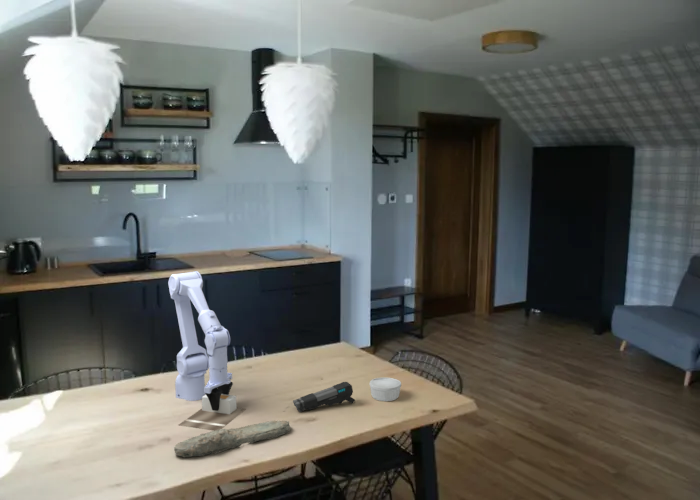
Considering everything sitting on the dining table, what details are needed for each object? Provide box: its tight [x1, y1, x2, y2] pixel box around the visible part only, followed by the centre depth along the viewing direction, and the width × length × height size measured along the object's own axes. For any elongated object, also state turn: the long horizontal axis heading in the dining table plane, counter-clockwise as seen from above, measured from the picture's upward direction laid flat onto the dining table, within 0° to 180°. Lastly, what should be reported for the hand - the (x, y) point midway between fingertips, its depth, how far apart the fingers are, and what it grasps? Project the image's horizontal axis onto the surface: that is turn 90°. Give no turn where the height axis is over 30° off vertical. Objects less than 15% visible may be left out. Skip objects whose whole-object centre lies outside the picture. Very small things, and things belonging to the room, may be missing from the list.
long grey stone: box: [173, 419, 291, 458], centre depth 174 cm, size 35×5×10 cm
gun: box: [292, 381, 356, 413], centre depth 201 cm, size 4×20×10 cm, turn 113°
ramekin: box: [369, 377, 402, 402], centre depth 210 cm, size 11×11×5 cm
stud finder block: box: [201, 394, 237, 414], centre depth 195 cm, size 10×4×5 cm, turn 72°
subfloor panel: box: [178, 406, 247, 431], centre depth 190 cm, size 14×18×1 cm
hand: (219, 407), depth 195 cm, fingers closed on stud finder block, 4 cm apart
